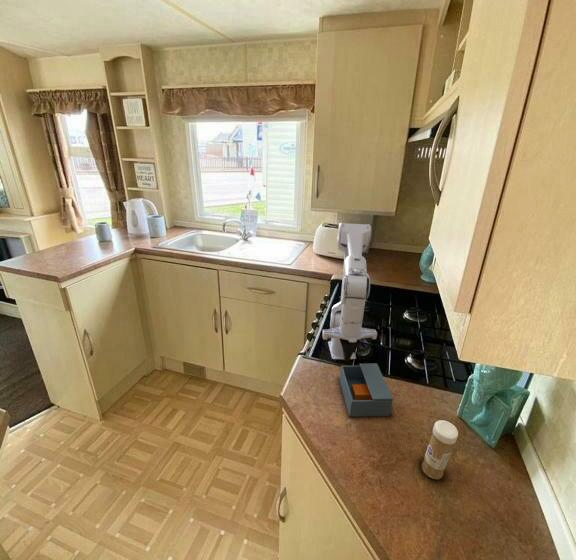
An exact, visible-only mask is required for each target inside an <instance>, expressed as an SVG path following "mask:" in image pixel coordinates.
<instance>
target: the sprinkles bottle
mask: <svg viewBox="0 0 576 560" xmlns="http://www.w3.org/2000/svg"><path fill="white" fill-rule="evenodd" d="M458 437H459V431H458V429H457V427H456V426H455V425H454V424H453V423H451V422H449V421H447V420H444V419H440V420H437V421H435V423H434V425H433V428H432V434H431V437H430V440H429V443H428V445H427V447H426V448H427V449H426V451H425V453H424V458H423V460H422V462H421V469H422V472H423V473H424V475H426V476H427V477H428V478H430V479H432V480H440V479H442V478H443V476H444V472H445V469H446V467H447V465H448V463H449V459H450V456H451V454H452V451H453V448H454V445H455V443H456V442H457V440H458Z"/></svg>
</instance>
